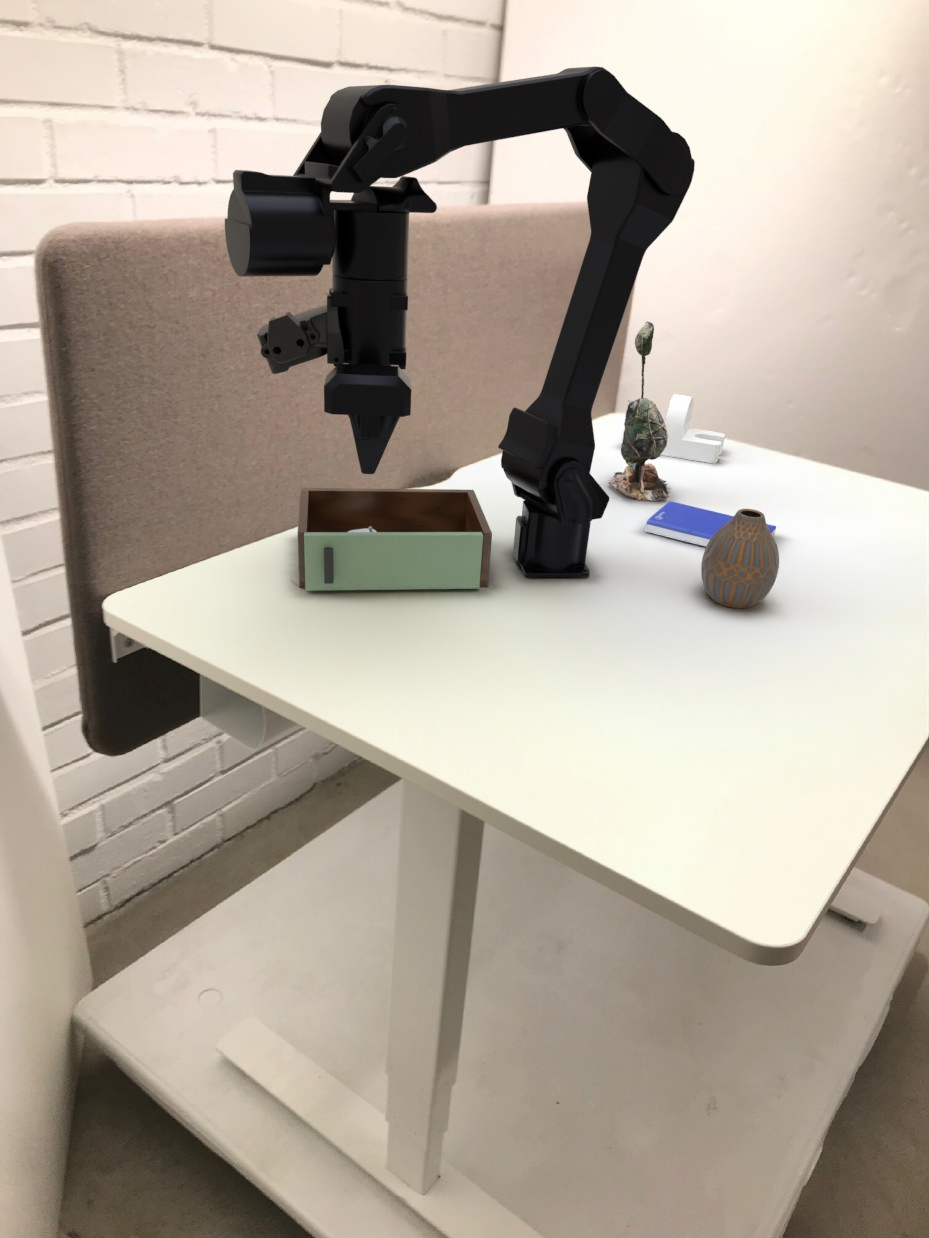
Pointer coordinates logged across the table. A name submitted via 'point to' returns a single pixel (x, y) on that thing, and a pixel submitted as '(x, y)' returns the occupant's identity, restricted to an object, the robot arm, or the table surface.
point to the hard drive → (688, 523)
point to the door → (392, 560)
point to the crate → (392, 515)
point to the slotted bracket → (689, 434)
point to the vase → (740, 561)
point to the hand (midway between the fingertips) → (368, 472)
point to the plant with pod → (642, 439)
